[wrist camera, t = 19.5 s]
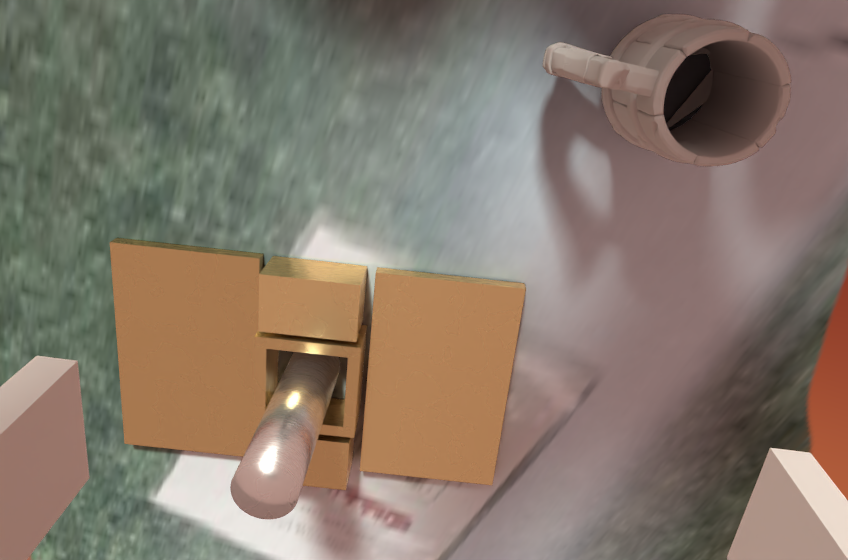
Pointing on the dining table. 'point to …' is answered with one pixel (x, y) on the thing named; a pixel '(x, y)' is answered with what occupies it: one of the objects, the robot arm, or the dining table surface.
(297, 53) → the dining table surface
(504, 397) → the hinge flap with knuckles
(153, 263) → the fixed leaf
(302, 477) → the pin
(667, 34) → the mug
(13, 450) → the robot arm
